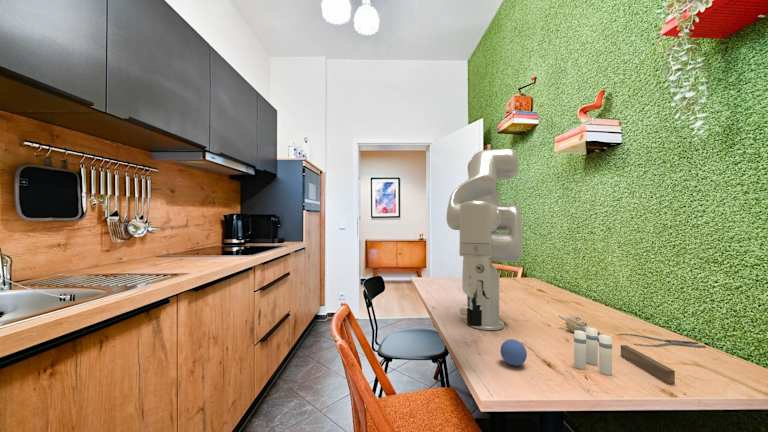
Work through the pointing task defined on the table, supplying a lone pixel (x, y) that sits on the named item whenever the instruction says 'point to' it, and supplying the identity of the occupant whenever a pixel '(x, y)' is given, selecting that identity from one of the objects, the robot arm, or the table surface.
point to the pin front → (580, 349)
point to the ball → (513, 352)
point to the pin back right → (605, 354)
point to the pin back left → (591, 346)
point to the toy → (575, 324)
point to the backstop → (648, 364)
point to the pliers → (671, 342)
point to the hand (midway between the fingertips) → (474, 325)
